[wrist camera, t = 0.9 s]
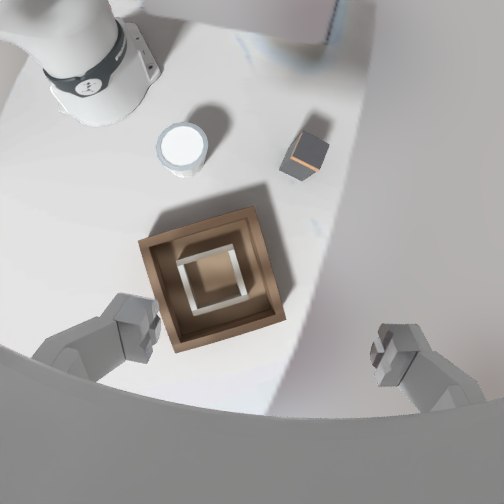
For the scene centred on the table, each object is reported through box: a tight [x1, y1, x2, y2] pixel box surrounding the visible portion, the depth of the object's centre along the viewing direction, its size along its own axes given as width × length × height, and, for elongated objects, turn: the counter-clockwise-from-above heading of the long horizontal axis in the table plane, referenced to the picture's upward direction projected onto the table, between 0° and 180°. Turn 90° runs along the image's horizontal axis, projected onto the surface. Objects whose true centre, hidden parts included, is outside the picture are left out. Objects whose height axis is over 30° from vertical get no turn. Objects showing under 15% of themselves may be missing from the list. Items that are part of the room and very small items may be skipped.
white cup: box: [156, 122, 208, 178], centre depth 40 cm, size 7×7×7 cm
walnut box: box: [138, 206, 286, 353], centre depth 42 cm, size 16×16×5 cm
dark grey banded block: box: [279, 131, 329, 181], centre depth 41 cm, size 4×4×8 cm
